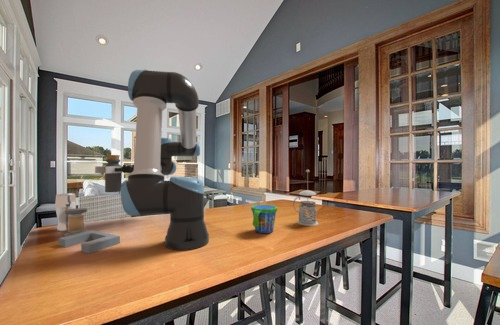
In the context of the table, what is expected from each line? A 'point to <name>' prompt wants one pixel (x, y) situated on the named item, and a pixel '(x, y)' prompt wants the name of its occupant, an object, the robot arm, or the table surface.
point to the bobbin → (75, 220)
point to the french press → (307, 208)
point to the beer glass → (64, 209)
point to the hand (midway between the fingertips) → (100, 169)
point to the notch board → (97, 243)
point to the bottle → (113, 175)
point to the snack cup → (264, 218)
